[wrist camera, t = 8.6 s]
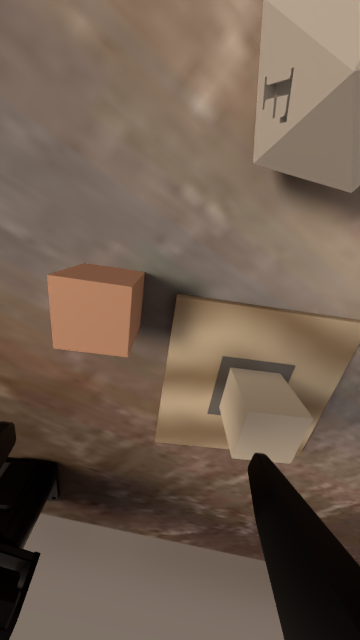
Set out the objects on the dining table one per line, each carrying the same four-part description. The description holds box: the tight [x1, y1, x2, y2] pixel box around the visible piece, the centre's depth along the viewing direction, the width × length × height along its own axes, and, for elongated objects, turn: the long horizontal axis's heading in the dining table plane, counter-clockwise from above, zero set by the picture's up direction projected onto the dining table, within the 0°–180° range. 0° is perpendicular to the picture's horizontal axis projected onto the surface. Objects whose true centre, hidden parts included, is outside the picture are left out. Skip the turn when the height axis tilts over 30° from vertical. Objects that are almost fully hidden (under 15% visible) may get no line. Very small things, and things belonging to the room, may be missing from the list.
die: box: [253, 0, 360, 193], centre depth 9 cm, size 8×9×10 cm
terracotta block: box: [47, 263, 145, 357], centre depth 15 cm, size 5×5×5 cm
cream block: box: [219, 368, 314, 464], centre depth 17 cm, size 5×5×5 cm
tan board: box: [155, 294, 360, 456], centre depth 20 cm, size 16×16×1 cm
